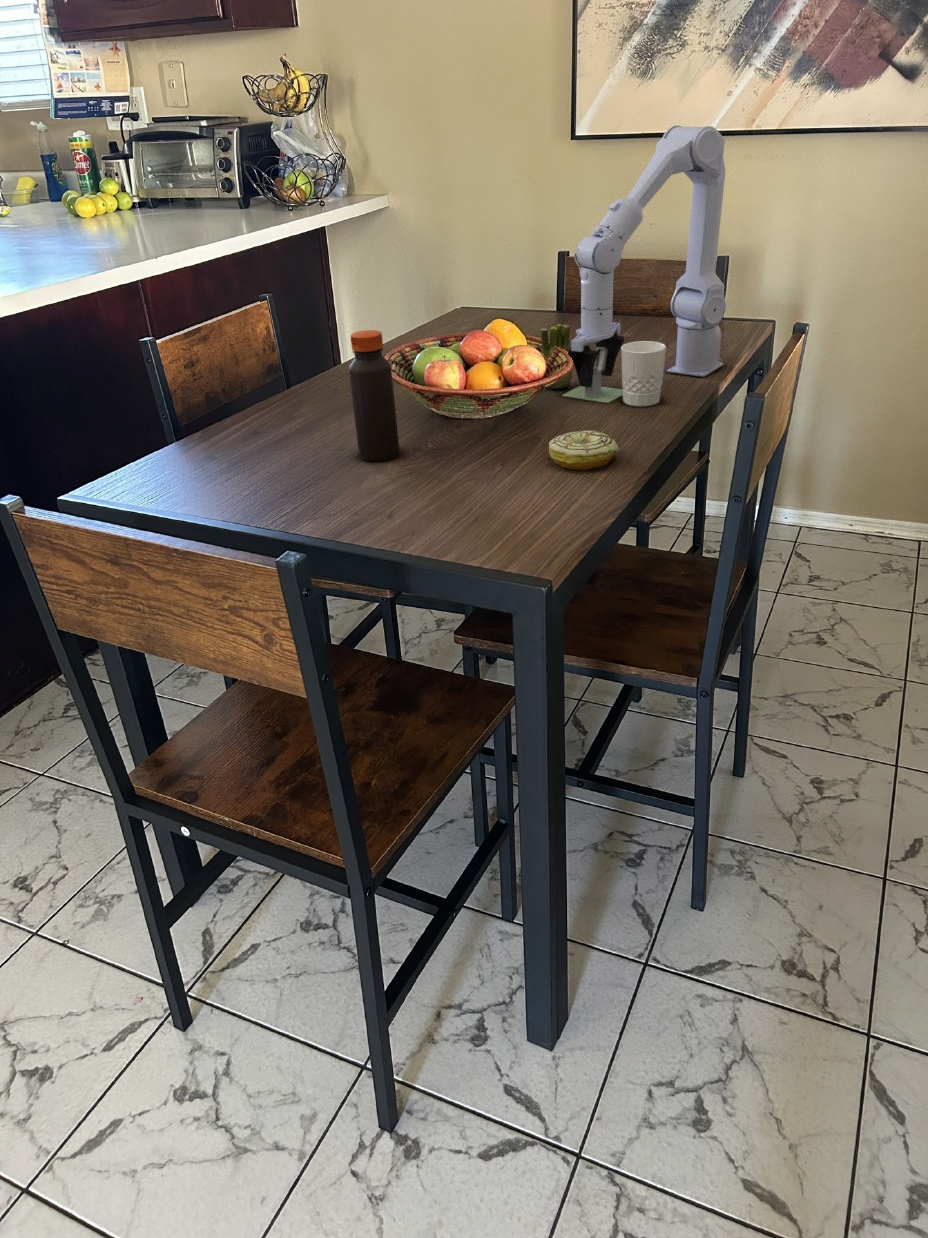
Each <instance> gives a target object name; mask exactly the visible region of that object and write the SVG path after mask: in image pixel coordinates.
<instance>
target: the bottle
mask: <svg viewBox="0 0 928 1238" xmlns="http://www.w3.org/2000/svg"><path fill="white" fill-rule="evenodd" d="M350 343H351V350H352V353H353V354H354V359H353V360H352V361H351V363H349V366H348V376H349V377H348V378H349V384H350V391H351V401H352V409H353V417H354V425H355V433H356V441H357V451H358V456H359V457H360V459H362V460H363V461H366V462H374V463H375V462H385V461H389V460H392V459H394V458H397V456H399V454H400V442H399V441H400V440H399V432H398V423H397V422H398V421H397V412H396V403H395V394H394V393H395V391H394V383H393V381H394V380H393V372H392V365H391V363H390V361H389V360H387V359H386V358H385V356H383V350H384V343H383V334H382V332H381V331H380V330H376V329H375V330H374V329H367V330H359V331H355V332H353V333H351V334H350Z"/></svg>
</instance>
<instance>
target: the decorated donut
mask: <svg viewBox="0 0 928 1238" xmlns="http://www.w3.org/2000/svg"><path fill="white" fill-rule="evenodd" d="M548 445H549V446H548V453H549V456H550V459H551V460H552V461H553V462H554V463H555V464H556V465H558V466H560V467H562V468H566V469H568V470H576V471H577V470H578V471H581V470H582V471H587V470H590V469H597V468H601V467H603V466H605V465H607V464H608V463H609V462H610V461H611V460H612V458H613V457H614V456H615V454H617V453H618V452H619V446H618V444H617V442H616V441H615V439H614V438H613V437H611V436H609V435H607V434H605V433H603V432H600V431H597V430H590V429H589V430H578V431H571V432H570V431H569V432H566V433H563V434H560V435H557V436H555V437H554V438H553V439H551V440H550V441H549V442H548Z"/></svg>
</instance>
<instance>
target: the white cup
mask: <svg viewBox="0 0 928 1238" xmlns="http://www.w3.org/2000/svg"><path fill="white" fill-rule="evenodd" d="M666 351H667V346H666V345H665V344H664V343H663V342H658V341H651V340H649V341H648V340H640V341H639V340H638V341H632V342H631V341H630V342H628V343H623V344H622V346H621V348H620V356H621V357H620V358H621V359H620V360H621V363H620V365H621V386H622V390H623V395H622V402H623V403H624V404H626V405H628V406H631V407H650V406H654V405H657V404H659V403H660V401H661V394H662V386H663V378H664V372H665V361H666Z"/></svg>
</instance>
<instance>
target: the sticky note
mask: <svg viewBox="0 0 928 1238" xmlns="http://www.w3.org/2000/svg"><path fill="white" fill-rule="evenodd" d="M561 396H562V397H566V398H572V399H579V400H587V401H590V402H591V401H592V402H598V403H603V404H604V403H605V404H610V403H612V402H613V401H616V400H617V399H619V398H620V397H623V388H622V389H621V388H615V387H609V386H602V385H601V393H600V394H599V395H597V396H596V397H595V398H585V387H583V386H580V385H579V386H577V387H575V388H573V389H571V390H569V391H567V392H565V393H563V394H562V395H561Z"/></svg>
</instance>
